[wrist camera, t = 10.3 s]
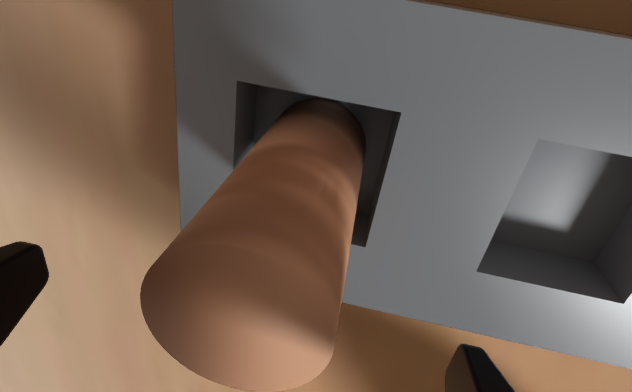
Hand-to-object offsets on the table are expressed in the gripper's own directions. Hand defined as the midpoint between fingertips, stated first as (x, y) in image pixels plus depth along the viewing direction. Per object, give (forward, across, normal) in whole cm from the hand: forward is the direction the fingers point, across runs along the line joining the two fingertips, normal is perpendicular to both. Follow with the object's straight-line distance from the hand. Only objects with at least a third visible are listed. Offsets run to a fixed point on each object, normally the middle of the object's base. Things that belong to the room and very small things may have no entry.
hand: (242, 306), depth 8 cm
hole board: (+11, -5, 0) cm, 12 cm away
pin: (+10, 0, 0) cm, 10 cm away
